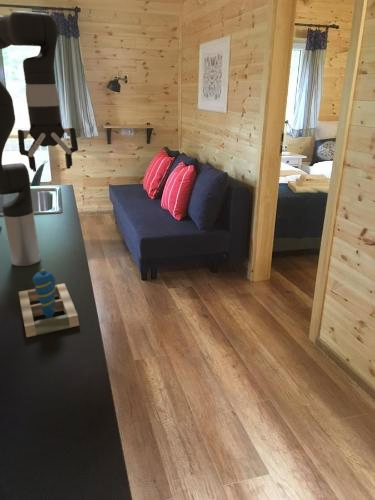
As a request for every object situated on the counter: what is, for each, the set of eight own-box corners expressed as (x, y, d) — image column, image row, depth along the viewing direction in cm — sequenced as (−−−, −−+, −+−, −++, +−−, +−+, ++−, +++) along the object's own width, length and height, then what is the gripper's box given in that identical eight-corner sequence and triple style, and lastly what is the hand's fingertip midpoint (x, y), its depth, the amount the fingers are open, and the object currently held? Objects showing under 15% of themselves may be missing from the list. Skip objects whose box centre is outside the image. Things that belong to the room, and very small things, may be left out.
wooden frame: (20, 301, 118) (18, 291, 117) (65, 292, 123) (64, 283, 122) (26, 337, 101) (24, 326, 100) (79, 325, 106) (77, 315, 105)
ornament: (38, 327, 106) (30, 272, 100) (39, 317, 110) (31, 264, 105) (60, 324, 107) (53, 270, 101) (60, 314, 111) (53, 262, 106)
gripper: (70, 102, 110) (76, 165, 116) (11, 104, 105) (21, 169, 111) (75, 104, 104) (82, 170, 110) (13, 105, 98) (24, 175, 104)
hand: (51, 169), depth 110 cm, fingers open, 8 cm apart
